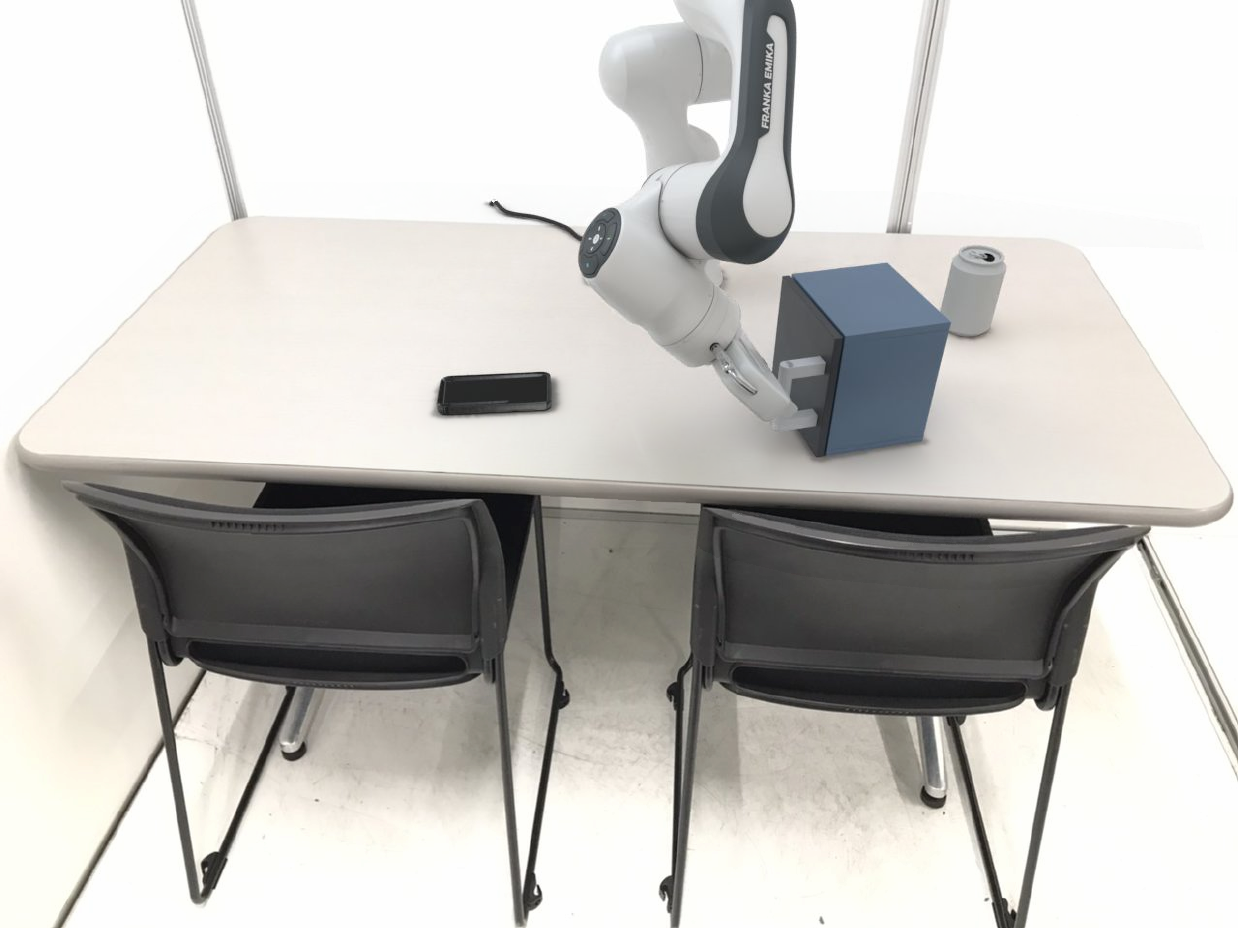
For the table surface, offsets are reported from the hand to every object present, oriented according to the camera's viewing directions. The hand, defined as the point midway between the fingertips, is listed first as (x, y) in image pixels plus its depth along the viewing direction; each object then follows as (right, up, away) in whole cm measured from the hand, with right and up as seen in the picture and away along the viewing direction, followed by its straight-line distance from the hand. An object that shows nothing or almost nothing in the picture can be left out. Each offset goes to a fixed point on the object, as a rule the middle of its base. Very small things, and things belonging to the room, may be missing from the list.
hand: (776, 388), depth 106 cm
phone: (-35, 0, +17) cm, 39 cm away
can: (+33, +12, +31) cm, 47 cm away
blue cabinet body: (+12, -2, +13) cm, 18 cm away
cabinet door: (+2, -4, +11) cm, 12 cm away
